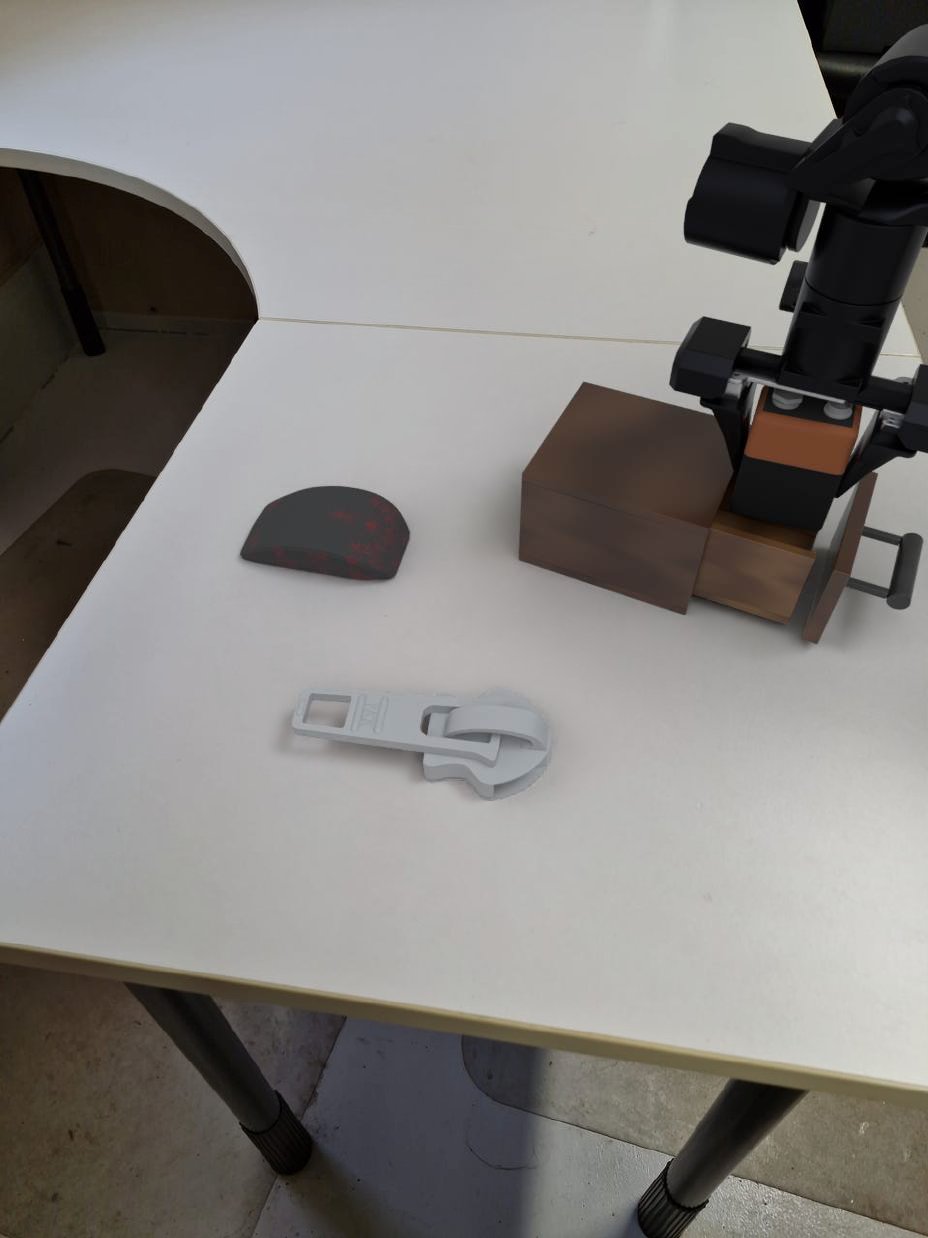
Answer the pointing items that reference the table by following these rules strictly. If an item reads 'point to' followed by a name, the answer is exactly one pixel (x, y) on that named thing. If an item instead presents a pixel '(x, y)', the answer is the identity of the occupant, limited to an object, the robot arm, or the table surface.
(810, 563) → the drawer
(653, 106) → the table surface
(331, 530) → the dark grey half-round block
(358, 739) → the zipper pull
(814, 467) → the battery
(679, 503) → the cabinet
